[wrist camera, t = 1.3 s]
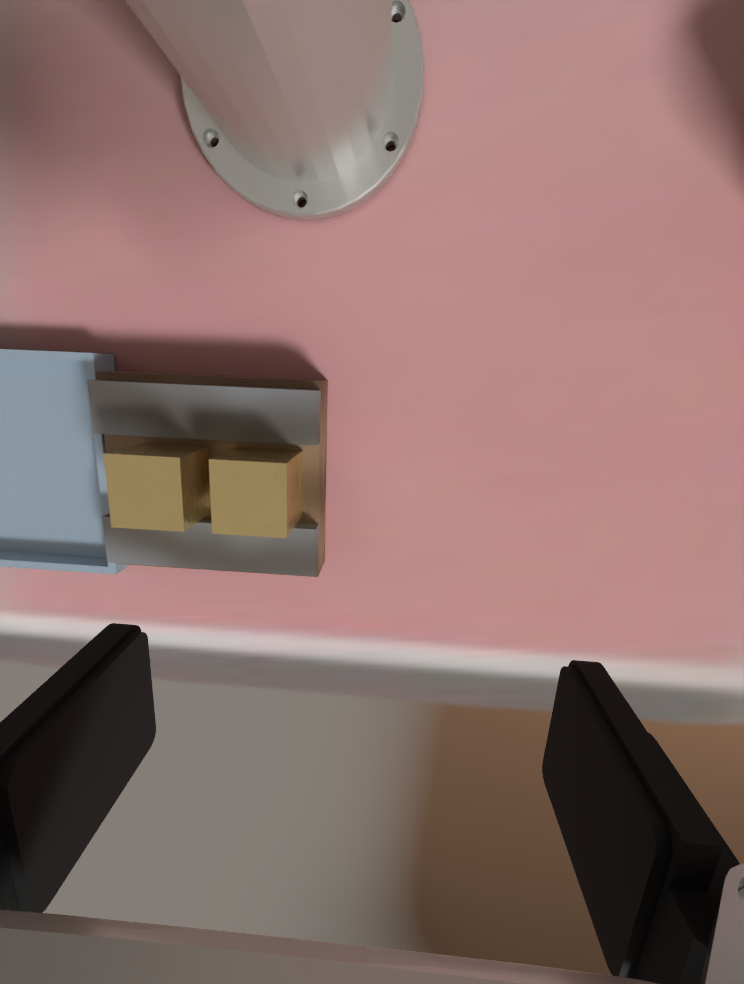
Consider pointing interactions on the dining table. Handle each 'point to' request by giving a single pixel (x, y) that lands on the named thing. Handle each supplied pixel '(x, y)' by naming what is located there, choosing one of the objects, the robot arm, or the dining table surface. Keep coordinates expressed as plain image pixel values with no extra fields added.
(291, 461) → the light brown cube
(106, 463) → the tan wooden cube
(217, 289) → the dining table surface
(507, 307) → the dining table surface
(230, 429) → the slot bed
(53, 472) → the tray
